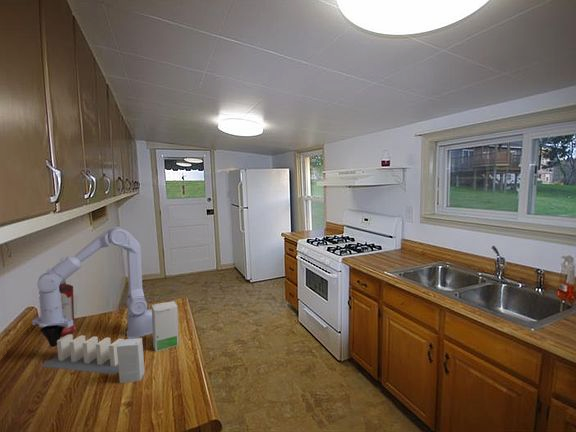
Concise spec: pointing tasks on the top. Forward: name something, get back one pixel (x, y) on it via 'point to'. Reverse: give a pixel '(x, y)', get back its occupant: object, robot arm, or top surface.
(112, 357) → the domino
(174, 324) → the skincare box
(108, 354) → the domino
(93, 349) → the domino
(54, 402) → the top surface
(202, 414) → the top surface
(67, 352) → the domino
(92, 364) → the runner mat
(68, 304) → the liquor
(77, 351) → the domino
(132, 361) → the skincare box
